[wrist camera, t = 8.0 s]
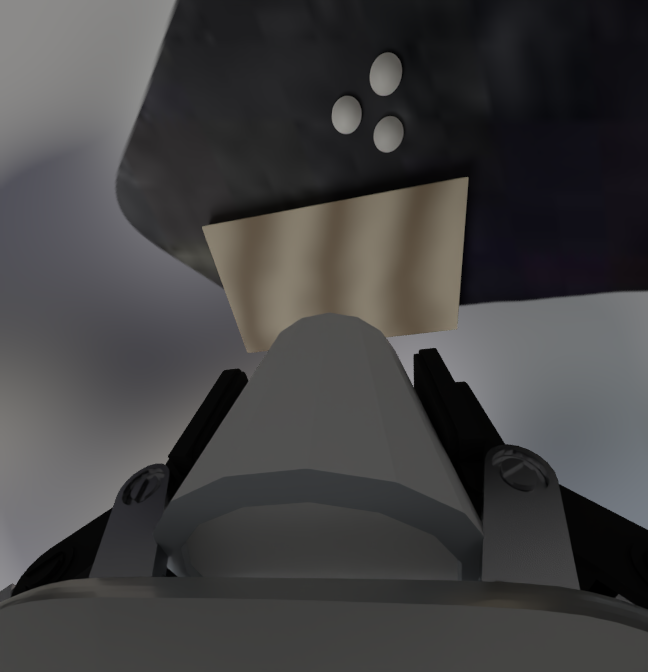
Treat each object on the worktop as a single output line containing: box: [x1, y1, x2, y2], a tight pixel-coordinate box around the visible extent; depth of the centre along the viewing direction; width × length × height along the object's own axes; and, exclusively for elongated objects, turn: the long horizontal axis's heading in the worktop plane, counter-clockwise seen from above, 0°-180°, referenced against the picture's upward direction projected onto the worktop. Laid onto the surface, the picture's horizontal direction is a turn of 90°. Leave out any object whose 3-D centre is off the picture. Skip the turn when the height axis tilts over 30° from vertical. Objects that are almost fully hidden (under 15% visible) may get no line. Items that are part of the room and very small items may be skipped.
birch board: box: [202, 177, 469, 353], centre depth 23 cm, size 20×12×1 cm, turn 100°
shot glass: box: [153, 313, 485, 581], centre depth 9 cm, size 7×7×7 cm
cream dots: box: [332, 52, 403, 152], centre depth 18 cm, size 5×5×1 cm
